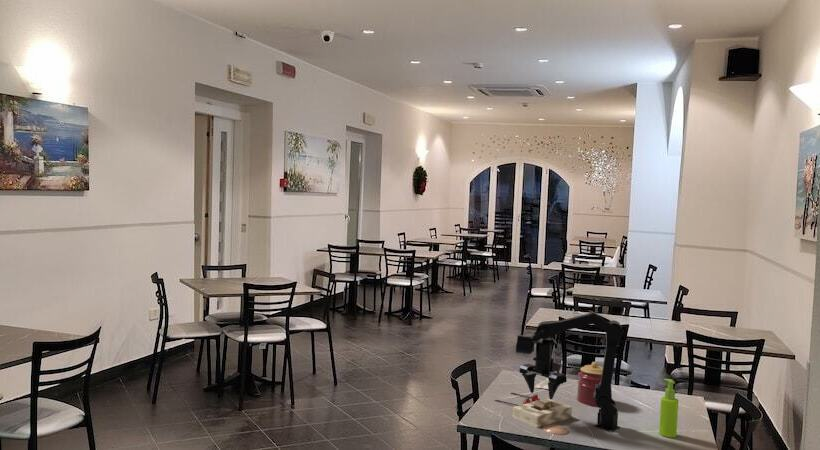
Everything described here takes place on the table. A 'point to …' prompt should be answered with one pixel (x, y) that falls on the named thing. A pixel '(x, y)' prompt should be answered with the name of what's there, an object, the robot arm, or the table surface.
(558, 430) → the terracotta coaster
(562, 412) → the cream wooden tray
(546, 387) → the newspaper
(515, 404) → the glasses
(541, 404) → the walnut slab
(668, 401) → the soap dispenser
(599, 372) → the canister
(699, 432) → the table surface
